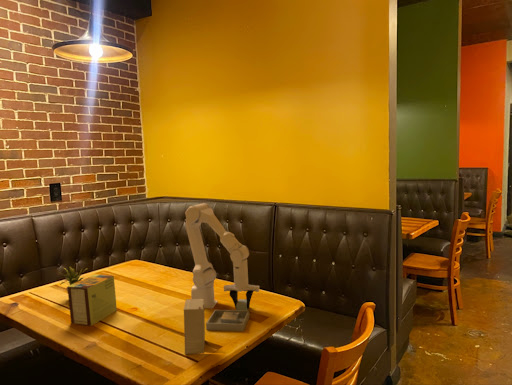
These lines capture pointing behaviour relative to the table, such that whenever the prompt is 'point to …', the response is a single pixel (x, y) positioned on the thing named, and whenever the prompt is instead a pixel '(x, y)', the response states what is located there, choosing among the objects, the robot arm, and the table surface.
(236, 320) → the wooden block
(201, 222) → the robot arm
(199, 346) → the skincare box
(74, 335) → the table surface
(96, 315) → the protein box
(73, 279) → the house plant
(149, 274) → the table surface
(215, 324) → the crate
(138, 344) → the table surface
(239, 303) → the carton
